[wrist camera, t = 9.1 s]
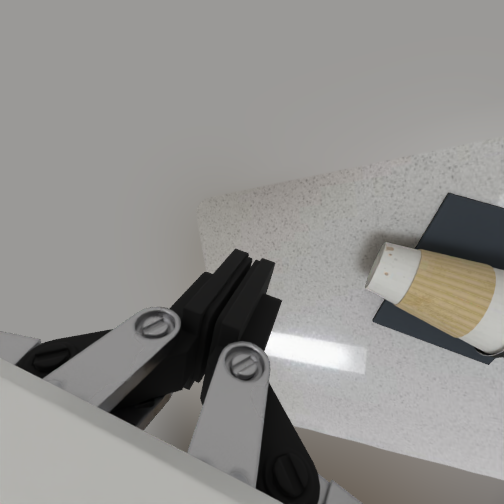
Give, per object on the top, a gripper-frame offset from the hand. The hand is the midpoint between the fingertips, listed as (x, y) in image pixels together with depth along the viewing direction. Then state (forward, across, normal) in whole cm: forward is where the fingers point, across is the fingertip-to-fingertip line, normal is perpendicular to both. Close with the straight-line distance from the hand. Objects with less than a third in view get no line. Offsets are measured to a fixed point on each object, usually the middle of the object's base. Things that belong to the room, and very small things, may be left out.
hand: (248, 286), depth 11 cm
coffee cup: (+24, -10, +8) cm, 27 cm away
